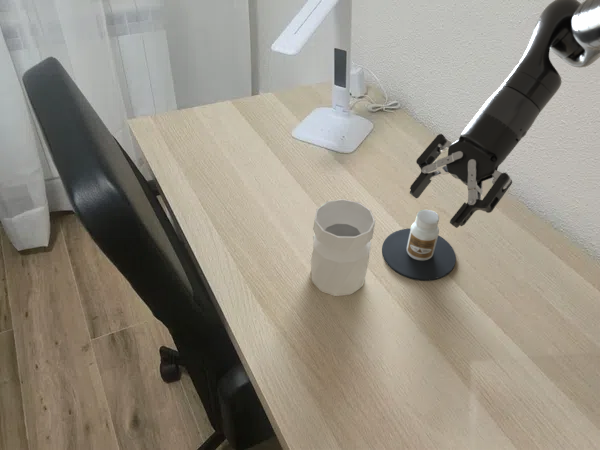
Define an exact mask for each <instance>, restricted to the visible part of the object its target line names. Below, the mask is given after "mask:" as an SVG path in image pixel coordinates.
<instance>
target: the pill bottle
mask: <svg viewBox="0 0 600 450" xmlns="http://www.w3.org/2000/svg"><path fill="white" fill-rule="evenodd" d="M439 222H440V216H439V214H438V213H437V212H436V211H434V210H431V209H421V210H419V211H417V213H416V217H415V221H413V223H412V224H411V226H410V229H411V230H410V235H409V239H408V244H407V253H408V254H409V256H410V257H412V258H413V259H416V260H421V261H425V260H428V259H430V258H431V257H432V256H433V253H434V249H435V246H436V242H437V238H438V235H439V234H440V229H439V226H438V225H439Z"/></svg>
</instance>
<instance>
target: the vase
mask: <svg viewBox="0 0 600 450" xmlns="http://www.w3.org/2000/svg"><path fill="white" fill-rule="evenodd" d="M312 226H313V227H312V231H313V233H314V235H313V236H312V240H313V243H312V252H311V258H310V274H311V276H310V277H311V279H310V280H311V282H312V283H313V285H314V286H315V287H316V288H317V289H318V290H319V291H320V292H323V293H325V294H327V295H331V296H334V297H338V296H339V297H341V296H350V295H352V294H354V293H356V292H358V291H359V290H360V289H361V288H363V286H364V283H365V279H366V276H367V271H368V268H369V267H368V266H369V262H370V261H369V260H370V255H371V247H372V246H371V245H372V242H371V240H372V239H373V237H374V232H375V226H376V220H375V216H374V214H373V212H372V209H370V208H369V207H367V206H366V205H364V204H363V203H361V202H360V201H355V200H350V199H347V198H339V199H334V200H333V199H332V200H327V201H325V202H324V203H323V204H322V205H320V206H319V207H318V208H316V209H315V215H314V221H313V225H312Z"/></svg>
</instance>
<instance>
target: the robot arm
mask: <svg viewBox="0 0 600 450" xmlns="http://www.w3.org/2000/svg"><path fill="white" fill-rule="evenodd" d="M550 51H551V52H552V53H553V54H555V55H556V56H557V57H558V58H560V59H561V60H562V61H564V62H565V63H566V64H568V65H569V66H572V67H574V68H579V69H580V68H586V67H589V66H591V65H592V64H594V63H595V62H596V61H597V60H598V59H599V58H600V0H584V1H583V2H580V1H579V0H553V1H552V2H550V3H549V4H548V5H547V6H546V7H545V8H544V9H543V11H542V12H541V14H539V17H538V19H537V21H536V23H535V25H534V28H533V30H532V33H531V35H530V38H529V40H528V42H527V44H526V47H525V49H524V52H523V53H522V55H521V57H520V59H519V61H518V62H517V64H516V65H515V67H514V68H513V69H512V71H511V72H510V73H509V74H508V76H507V77H506V79H504V81H503V82H502V84H500V86H499V87H498V89H496V90H495V91H494V92H493V93H492V94H491V96H489V98H488V99H486V101H485V103H484V104H483V105H482V106H481V107H480V109H479V110H478V111H477V112H476V114H475V115H474V116H473V118H472V119H471V120H470V122H469V123H468V124H467V126H466V127H465V128H464V129H463V131H462V132H461V134H460V136H459V137H458V139H457V140H456V141H454V142H453V143H452V141H450V140H449V139H447V137H446V136H445V135H444V134H442V133H439V134H437V136H435V137H434V139H433V140H432V141H431V143H430V144H429V145H427V147H426V148H425V150H423V152H422V153H421V154H420V155H419V156H418V158H417V159H416V161H415V162H416V165H418V167H419V169H420V173H419V174H418V175H417V177H416V179H414V181H413V182H412V184H411V185H410V187H409V194H410V195H411V196H412V197H413V198H414V199H419V197H421V195H422V194H423V192H424V191H425V190H426V188H427V187H428V186H429V185H430V184H431V182H432V179H434V178H437V177H440V176H446V175H450V176H451V177H453V178H455V179H457V180H459V181H461V182H462V183H463V185H465V186H467V202H465V201H464V203H462V205H461V206H460V208H459V209H458V210H457V211H456V212H455V214H454V215H453V216H452V218H450V220H449V224H451V225H452V226H453V227H454V228H456V229H457V228H459V227H463V226H465V225H466V223H467V222H468V221H469V220H470V219H471V217H472V216H473V215H474V213H475V212H477V211H482V212H485V213H487V214H490V213H492V212H493V211H494V209H495V208H496V207H497V205H498V204H499V203H500V201H501V200H502V198H503V197H504V195H505V194H506V193H507V191H508V189H510V187H511V186H512V184H513V180H512V178H511V177H510V175H509V174H508V173H507V172H501V171H499V170H498V168H499V166H501V164H502V163H504V161H505V160H506V159H507V158H508V156H509V155H510V154H511V153H512V152H513V150H514V149H515V148H516V146H517V145H518V144H519V142H520V141H521V140H522V139H523V138H524V137H525V136H526V135H527V133H528V132H529V130H530V129H531V128H532V126H533V124H534V122H535V121H536V119H537V118H538V117H539V115H540V114H541V112H542V111H543V110H544V108H546V106H547V105H548V103H549V102H550V101H551V100H552V98H553V97H554V96H555V95H556V94H557V92H558V91H559V90H560V89H561V86H562V83H563V81H562V77H561V75H560V73H559V72H558V70H557V69H556V67H555V66H554V65H553V63H552V61H551V59H550ZM446 152H447V156H445V157H442V158H439V157H440V155H441V154H442V153H443V154H444V153H446ZM438 158H439V159H438ZM490 179H492V182H491V183H492V186H491V187H490V188H489V190H488V191H487V193H486V194H485V195H484V197H483V198H482V195H483V186H484V182H485V181H487V180H490Z"/></svg>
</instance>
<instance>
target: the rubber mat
mask: <svg viewBox="0 0 600 450" xmlns="http://www.w3.org/2000/svg"><path fill="white" fill-rule="evenodd" d="M410 230H411V228H402V229H398V230H396V231H394V232H392V233H390V234H389V235H388V236H387V237H386V238H385V239H384V241H383V243H382V246H381V254H382V257H383V261H384V262H385V263H386V265H387V266H388V267H389V268H390V269H391V270H392V271H394V272H395V273H397V274H399V275H400V276H402V277H405V278H407V279H411V280H413V281H421V282H422V281H423V282H429V281H436V280H439V279H442V278H444V277H446V276H448V275H449V274H450V273H451V272H452V271H453V269H454V268H455V265H456V262H457V257H456V252H455V250H454V248H453V247H452V245H451V244H450V243H449V242H448V241H447V240H446V239H445V238H444V237H442V236H440V235H439V234H438V238H437V242H436V246H435V249H434V253H433V256H432V257H431V258H430V259H428V260H425V261H421V260H416V259H413V258H412V257H410V256H409V254H408V253H407V244H408V239H409V235H410Z"/></svg>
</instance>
